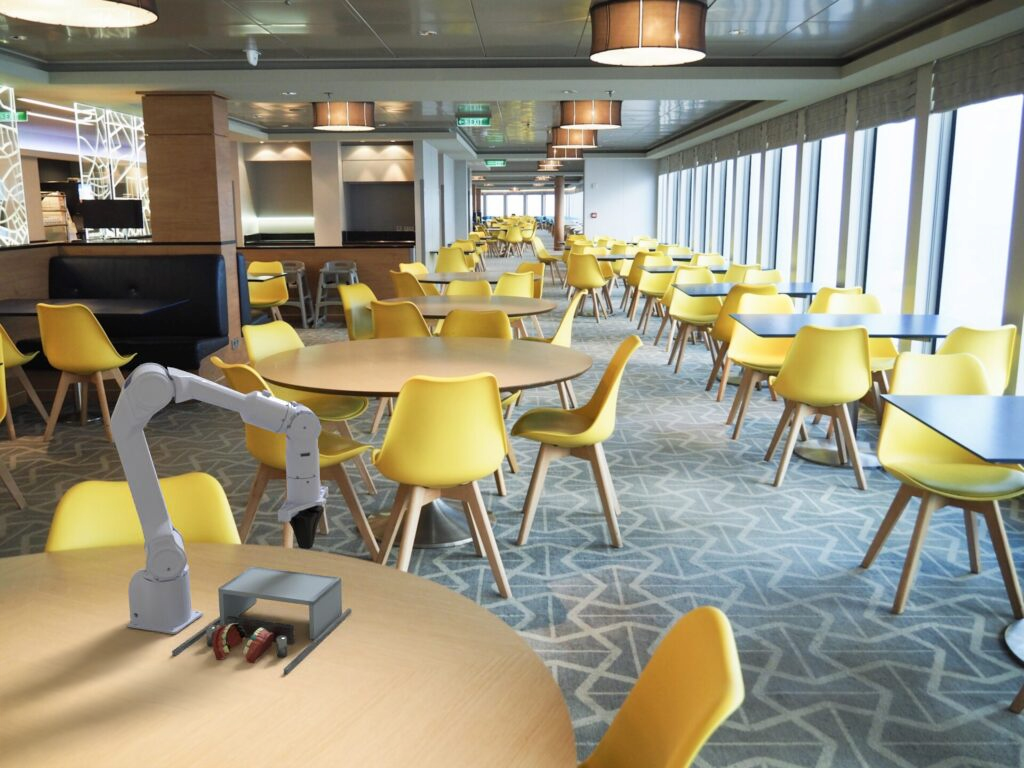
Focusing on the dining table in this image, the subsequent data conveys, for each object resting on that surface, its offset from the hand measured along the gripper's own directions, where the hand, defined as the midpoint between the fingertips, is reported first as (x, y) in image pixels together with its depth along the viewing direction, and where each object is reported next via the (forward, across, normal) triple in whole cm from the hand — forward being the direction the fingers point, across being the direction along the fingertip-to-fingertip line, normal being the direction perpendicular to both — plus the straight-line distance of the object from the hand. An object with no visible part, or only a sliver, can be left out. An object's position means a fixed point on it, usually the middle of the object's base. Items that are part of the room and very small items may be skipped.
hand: (305, 547), depth 156 cm
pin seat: (+10, -14, 0) cm, 17 cm away
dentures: (+10, -21, 0) cm, 23 cm away
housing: (+10, -9, 0) cm, 13 cm away
